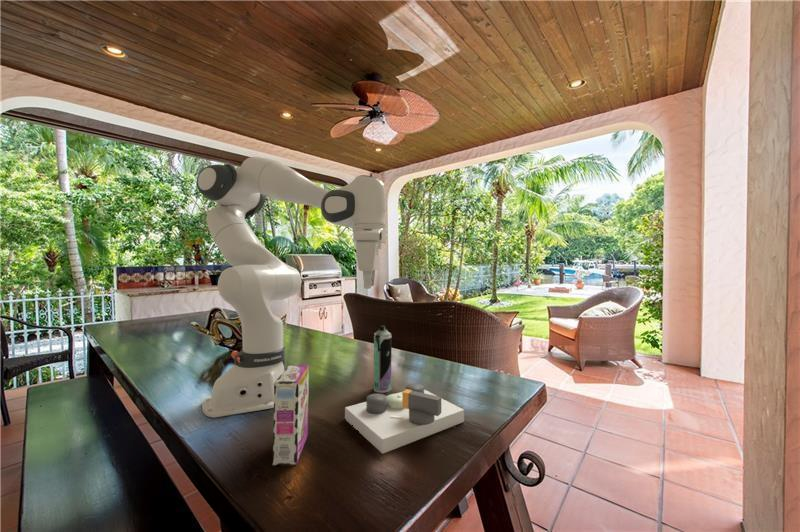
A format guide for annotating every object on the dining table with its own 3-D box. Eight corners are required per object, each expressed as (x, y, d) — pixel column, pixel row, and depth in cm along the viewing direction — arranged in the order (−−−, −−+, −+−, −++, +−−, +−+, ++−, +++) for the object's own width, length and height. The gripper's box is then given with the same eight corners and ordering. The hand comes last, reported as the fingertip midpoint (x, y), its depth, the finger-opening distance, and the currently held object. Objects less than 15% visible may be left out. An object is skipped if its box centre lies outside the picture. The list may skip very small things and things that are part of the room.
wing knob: (444, 417, 76) (444, 393, 76) (434, 429, 71) (434, 403, 71) (410, 409, 80) (410, 386, 80) (398, 419, 75) (398, 394, 75)
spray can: (388, 393, 98) (389, 327, 98) (371, 392, 99) (371, 327, 99) (392, 386, 103) (393, 324, 103) (376, 385, 104) (376, 323, 104)
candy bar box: (298, 465, 63) (298, 382, 63) (272, 467, 63) (272, 382, 62) (309, 435, 74) (309, 364, 74) (287, 436, 74) (287, 364, 74)
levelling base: (382, 453, 67) (382, 425, 67) (345, 419, 82) (345, 395, 82) (464, 421, 81) (464, 397, 81) (419, 397, 96) (419, 376, 96)
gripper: (362, 239, 98) (362, 284, 98) (352, 232, 78) (352, 290, 78) (383, 239, 98) (383, 284, 98) (378, 232, 78) (378, 290, 78)
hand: (369, 287), depth 88 cm, fingers open, 8 cm apart
